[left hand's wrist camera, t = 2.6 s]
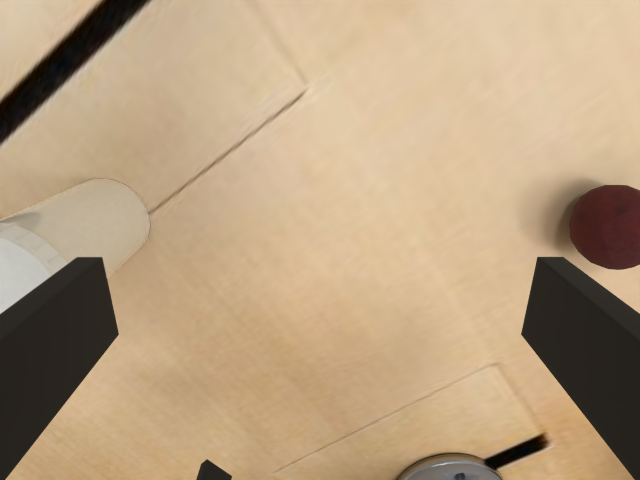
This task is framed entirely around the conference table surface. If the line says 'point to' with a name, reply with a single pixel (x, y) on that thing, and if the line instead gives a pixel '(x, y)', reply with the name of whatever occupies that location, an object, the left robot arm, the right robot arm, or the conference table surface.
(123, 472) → the conference table surface
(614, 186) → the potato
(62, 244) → the jar
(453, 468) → the right robot arm
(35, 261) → the lid
